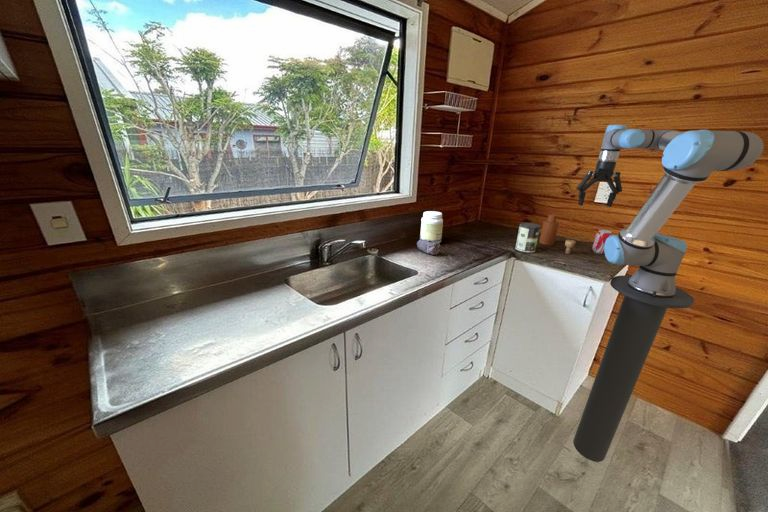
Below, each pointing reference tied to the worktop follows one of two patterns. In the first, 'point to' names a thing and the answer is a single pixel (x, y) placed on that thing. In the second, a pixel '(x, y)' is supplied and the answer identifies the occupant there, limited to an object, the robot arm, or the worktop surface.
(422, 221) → the supplement tub
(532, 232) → the coffee can
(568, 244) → the stopper
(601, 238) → the soda can
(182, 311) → the worktop surface
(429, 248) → the perforated stone tool
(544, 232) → the bottle
